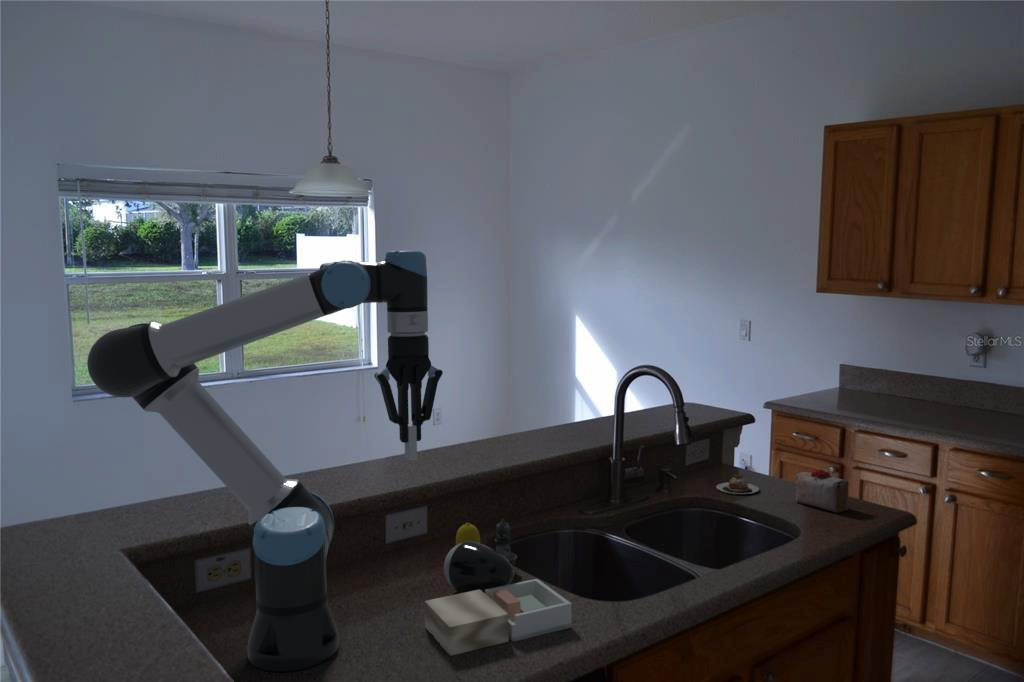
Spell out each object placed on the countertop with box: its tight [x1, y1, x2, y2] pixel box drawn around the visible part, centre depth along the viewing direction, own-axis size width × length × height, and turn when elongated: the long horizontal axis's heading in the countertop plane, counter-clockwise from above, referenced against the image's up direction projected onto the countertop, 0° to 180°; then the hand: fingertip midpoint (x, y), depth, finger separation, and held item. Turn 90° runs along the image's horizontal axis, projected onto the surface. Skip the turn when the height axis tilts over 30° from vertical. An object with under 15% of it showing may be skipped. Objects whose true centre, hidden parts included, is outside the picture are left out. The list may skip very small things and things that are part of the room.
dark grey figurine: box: [494, 517, 518, 576], centre depth 169 cm, size 6×6×12 cm
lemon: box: [455, 522, 481, 546], centre depth 178 cm, size 6×6×8 cm
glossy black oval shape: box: [443, 541, 515, 594], centre depth 157 cm, size 10×10×15 cm
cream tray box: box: [424, 589, 510, 656], centre depth 141 cm, size 11×12×5 cm
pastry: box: [716, 474, 760, 496], centre depth 230 cm, size 12×12×5 cm
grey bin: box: [485, 578, 573, 643], centre depth 146 cm, size 12×13×4 cm
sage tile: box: [517, 595, 546, 613], centre depth 146 cm, size 4×6×2 cm
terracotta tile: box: [494, 589, 521, 622], centre depth 145 cm, size 4×6×2 cm
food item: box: [794, 469, 850, 514], centre depth 214 cm, size 14×8×10 cm, turn 36°
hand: (411, 458), depth 149 cm, fingers closed
